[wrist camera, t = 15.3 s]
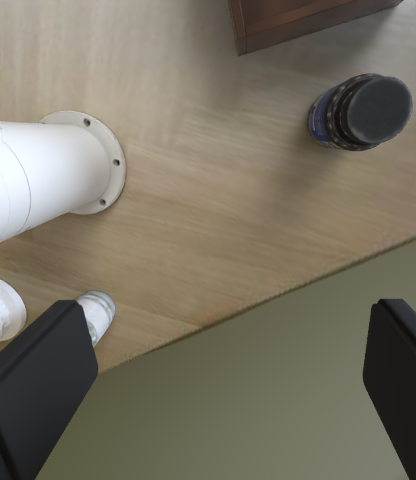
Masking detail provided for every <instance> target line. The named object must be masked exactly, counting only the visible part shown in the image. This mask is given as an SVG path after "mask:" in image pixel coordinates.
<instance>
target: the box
mask: <svg viewBox="0 0 416 480" xmlns="http://www.w3.org/2000/svg"><path fill="white" fill-rule="evenodd" d="M402 1H403V0H228V4H229V9H230V14H231V19H232V25H233V30H234V35H235V40H236V45H237V51H238V56H242V55H245V54H248V53H251V52H254V51H257V50H260V49H264V48H267V47H270V46H273V45H276V44H279V43H282V42H286V41H289V40H292V39H295V38H298V37H301V36H304V35H307V34H311V33H314V32H317V31H320V30H323V29H326V28H329V27H333V26H336V25H339V24H342V23H345V22H348V21H351V20H355V19H358V18H361V17H364V16H367V15H370V14H373V13H376V12H380V11H383V10H386V9H389V8H392V7H395V6H397V5H399V4H400V3H401V2H402Z"/></svg>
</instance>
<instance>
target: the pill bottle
mask: <svg viewBox="0 0 416 480" xmlns="http://www.w3.org/2000/svg"><path fill="white" fill-rule="evenodd" d="M412 108H413V101H412V95H411V92H410V90H409V89H408V87H407V86H406V85H405V83H403V82H402V81H401V80H399V79H396V78H394V77H388V76H382V75H379V74H362V75H359V76H355V77H353V78H350V79H349V80H347V81H345V82H343V83H341V84H339V85H337V86H335V87H333V88H331V89H330V90H328V91H326V92H324V93H323V94H321V95H320V96H319V97H318V98H317V100H316V101H315V102H314V103H313V105H312V106H311V109H310V111H309V115H308V129H309V132H310V135H311V136H312V138H313V139H314V140H315V141H316V142H317V143H318V144H320V145H321V146H324V147H328V148H336V149H343V150H350V151H363V150H367V149H371V148H373V147H376V146H377V145H379V144H380V143H382V142H385V141H388V140H390V139H392V138H393V137H395V136H396V135H397V134H398V133H400V132H401V131H402V130H403V128H404V127H405V126H406V124H407V122H408V121H409V119H410V116H411V113H412Z"/></svg>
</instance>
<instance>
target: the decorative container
mask: <svg viewBox="0 0 416 480" xmlns="http://www.w3.org/2000/svg"><path fill="white" fill-rule="evenodd" d="M25 322H26V309H25V305H24V303H23V301H22V299H21V297H20V296H19V294H18V293H17V292H16V291H15V290H14V289H13V288H12V287H11V286H10V285H8V284H7V283H6V282H4V281H2V280H0V341H4V340H9V339H10V338H12V337H14V336H15V335H16V334H17V333H19V332H20V331H21V329H22V328H23V327H24V325H25Z"/></svg>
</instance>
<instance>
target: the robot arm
mask: <svg viewBox="0 0 416 480" xmlns="http://www.w3.org/2000/svg"><path fill="white" fill-rule="evenodd" d="M89 121H90V125H89ZM118 160H119V162H120V164H118V162H117V161H118ZM125 179H126V164H125V158H124V155H123V151H122V149H121V147H120V145H119V142H118V140H117V139H116V137H115V136H114V135H113V133H112V132H111V131H110V130H109V129H108V128H107V127H106V126H105V125H104V124H103V123H102V122H100V121H99V120H97V119H96V118H94V117H92V116H90V115H88V114H85V113H81V112H77V111H68V110H66V111H57V112H54V113H51V114H49V115H47V116H46V117H44V118H42V119H41V120H40V121H39V122H38V123H20V122H0V242H2V241H4V240H7V239H9V238H11V237H13V236H16V235H18V234H20V233H23V232H25V231H27V230H29V229H31V228H34V227H36V226H38V225H40V224H43V223H45V222H47V221H49V220H51V219H54V218H56V217H58V216H60V215H63V214H65V213H67V212H69V213H74V214H80V215H87V214H94V213H97V212H99V211H102V210H104V209H105V208H107V207H109V206H110V205H111V204H112V203H114V202H115V200H116V199H117V198H118V197H119V195H120V193H121V191H122V189H123V186H124V183H125ZM104 200H105V201H106V203H105V202H104ZM97 374H98V364H97V360H96V356H95V352H94V348H93V344H92V341H91V337H90V333H89V329H88V325H87V321H86V317H85V313H84V309H83V306H82V305H80V304H79V303H78V302H77V301H75V300H59V301H57V302H55V303H54V304H53V305H52V306H51V307H50V308H48V309H47V310H46V311H45V312H44V313H43V314H42V315H41V316H40V317H38V318H37V319H36V320H35V321H34V322H33V323H32V324H31V325H29V326H28V327H27V328H26V329H25V330H24V331H23V332H22V333H21V334H19V335H18V336H17V337H16V338H15V339H14V340H13V341H12V342H11V343H9V344H8V345H7V346H6V347H5V348H4V349H3V350H2V351H1V352H0V480H35V478H36V477H37V475H38V473H39V471H40V470H41V468H42V467H43V465H44V463H45V462H46V459H47V458H48V456H49V455H50V453H51V452H52V450H53V448H54V447H55V445H56V443H57V442H58V440H59V438H60V437H61V435H62V433H63V432H64V430H65V428H66V427H67V425H68V423H69V422H70V420H71V419H72V417H73V415H74V414H75V412H76V410H77V408H78V407H79V405H80V404H81V402H82V400H83V399H84V397H85V395H86V394H87V392H88V390H89V389H90V387H91V385H92V384H93V382H94V380H95V379H96V377H97ZM363 381H364V385H365V387H366V390H367V392H368V394H369V396H370V398H371V400H372V402H373V404H374V406H375V409H376V411H377V413H378V415H379V417H380V419H381V421H382V423H383V425H384V427H385V429H386V432H387V434H388V435H389V438H390V440H391V442H392V444H393V446H394V448H395V450H396V452H397V454H398V457H399V459H400V461H401V463H402V465H403V467H404V469H405V471H406V473H407V475H408V477H409V479H410V480H416V312H415V311H414V310H413V309H412V308H411V307H410V306H409V305H408V304H407V303H406V302H405V301H404V300H403V299H380V300H379V301H378V303H377V304H373V305H372V308H371V315H370V322H369V330H368V337H367V345H366V353H365V360H364V368H363Z"/></svg>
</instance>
